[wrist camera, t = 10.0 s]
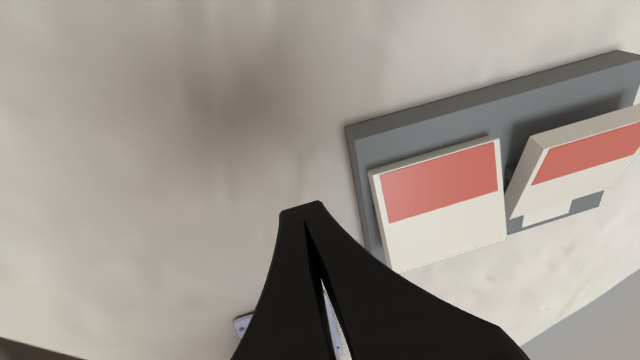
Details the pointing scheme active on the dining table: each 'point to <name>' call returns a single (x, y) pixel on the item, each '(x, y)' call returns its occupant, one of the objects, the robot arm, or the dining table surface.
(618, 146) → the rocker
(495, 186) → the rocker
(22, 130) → the dining table surface
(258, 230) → the dining table surface
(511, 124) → the switch panel
